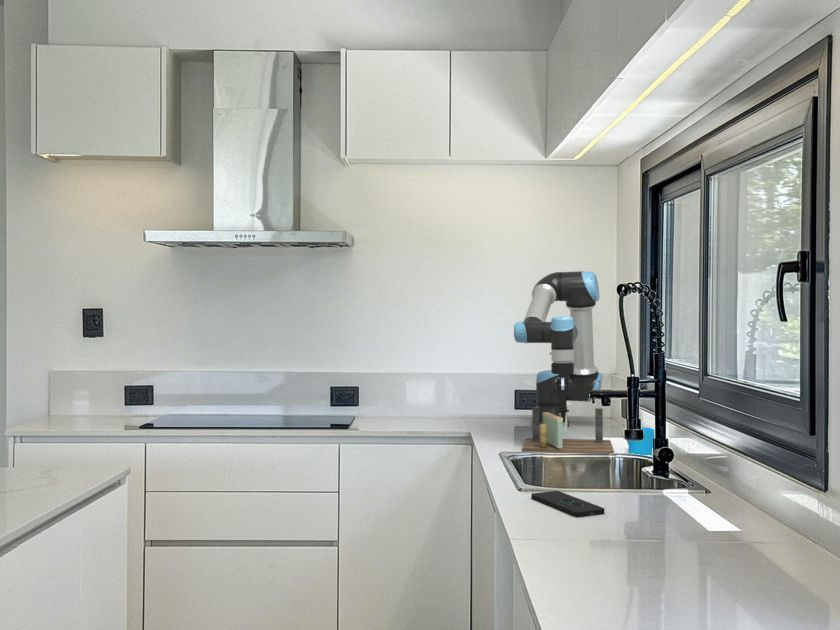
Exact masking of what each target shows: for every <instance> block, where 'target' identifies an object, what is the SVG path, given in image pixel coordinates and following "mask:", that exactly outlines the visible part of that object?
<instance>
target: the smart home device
mask: <svg viewBox="0 0 840 630" xmlns="http://www.w3.org/2000/svg"><path fill="white" fill-rule="evenodd" d="M531 499H532V500H534V501H537V502H539V503H541V504H542V505H543V504H544V505H546V506H548V507H551V508H553V509H555V510H557V511H559V512H562V513H565V514H568V515H569V516H571V517H573V518H574V517H575V518H582V517H583V518H584V517H585V518H586V517H592V516H598V515H605V507H602V506H599V505H596V504H594V503H591V502H589V501H587V500H584V499H581V498H578V497H576V496H572V495H570V494H567V493H565V492H562V491H559V490H551V491H542V492H533V493H531Z"/></svg>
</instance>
